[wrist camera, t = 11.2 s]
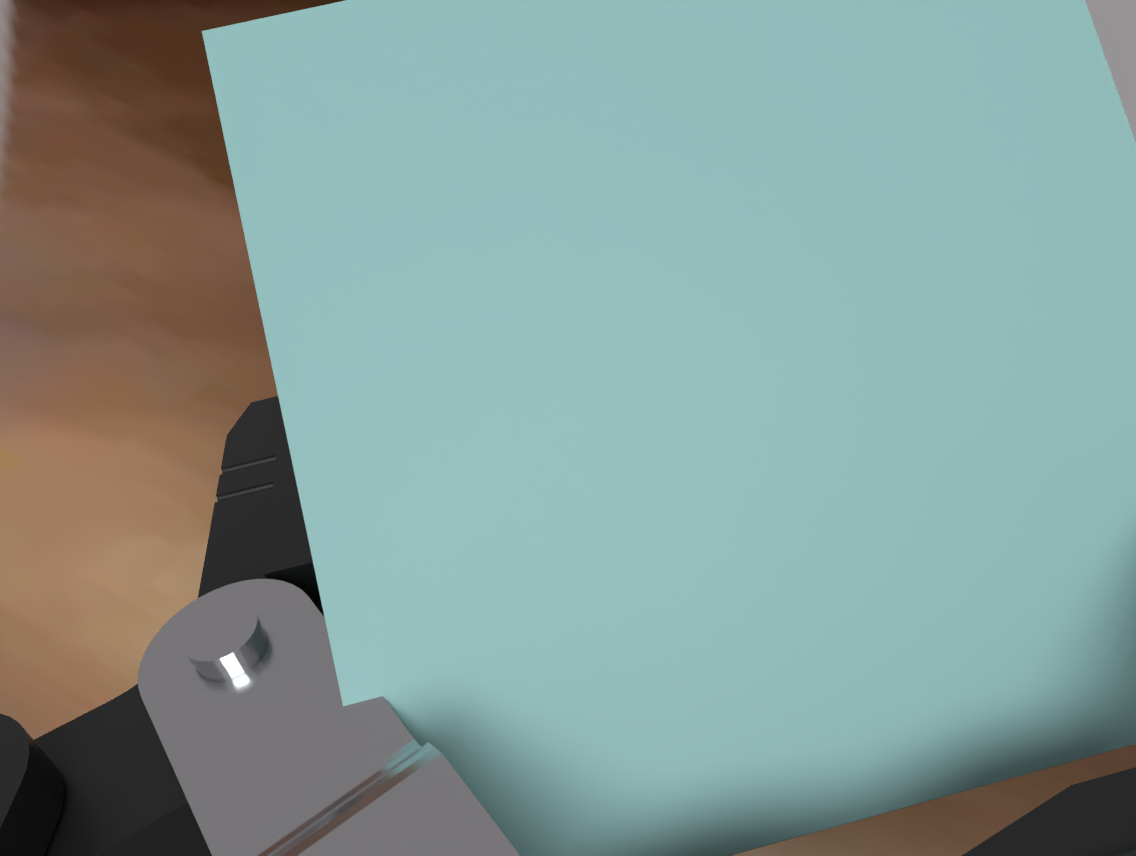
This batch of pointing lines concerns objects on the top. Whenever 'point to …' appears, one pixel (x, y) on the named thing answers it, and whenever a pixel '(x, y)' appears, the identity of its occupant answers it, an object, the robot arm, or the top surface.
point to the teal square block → (705, 394)
